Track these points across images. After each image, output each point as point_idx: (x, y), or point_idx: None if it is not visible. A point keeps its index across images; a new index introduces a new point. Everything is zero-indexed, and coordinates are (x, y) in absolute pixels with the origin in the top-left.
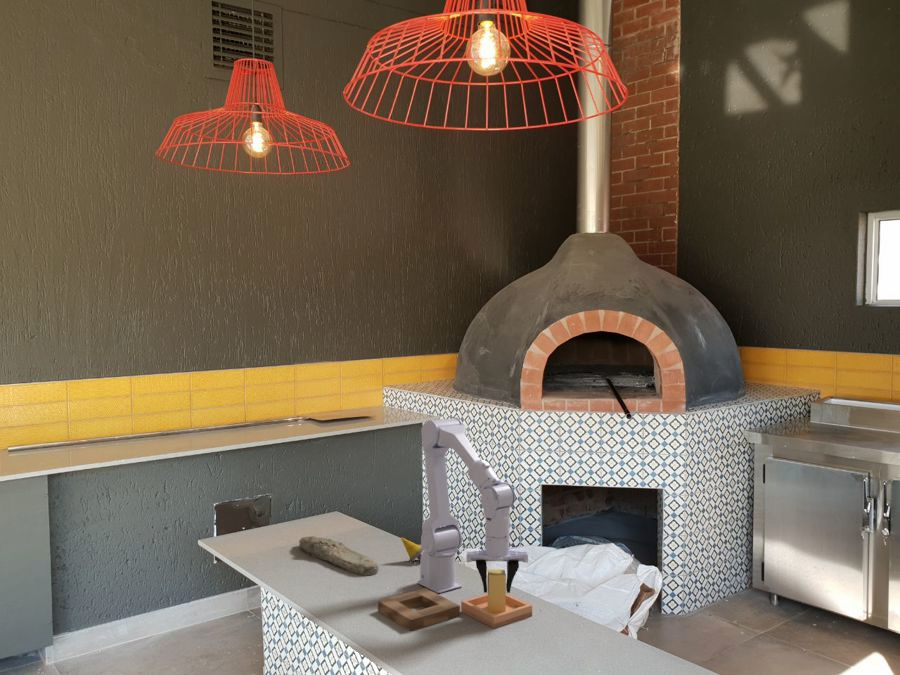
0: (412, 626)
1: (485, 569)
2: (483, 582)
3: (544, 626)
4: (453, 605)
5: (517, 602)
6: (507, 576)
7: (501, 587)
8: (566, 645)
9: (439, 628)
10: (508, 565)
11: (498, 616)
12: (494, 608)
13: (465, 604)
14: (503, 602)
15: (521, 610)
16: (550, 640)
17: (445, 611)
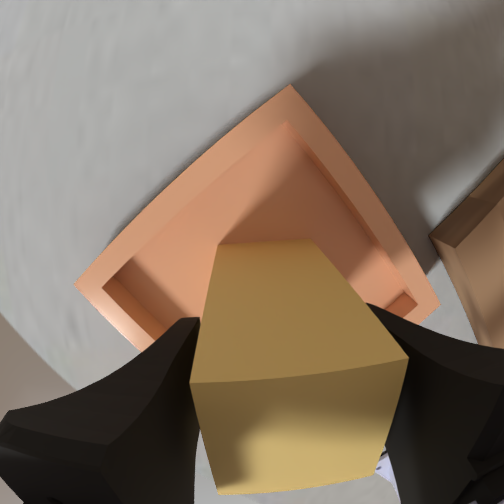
0: None
1: (493, 374)
2: (413, 326)
3: (45, 155)
4: (476, 248)
5: (153, 333)
6: (188, 430)
7: (244, 306)
8: (8, 15)
9: (489, 116)
10: (136, 498)
11: (261, 106)
12: (282, 248)
13: (425, 280)
14: (227, 261)
15: (124, 229)
16: (43, 30)
17: (500, 192)
